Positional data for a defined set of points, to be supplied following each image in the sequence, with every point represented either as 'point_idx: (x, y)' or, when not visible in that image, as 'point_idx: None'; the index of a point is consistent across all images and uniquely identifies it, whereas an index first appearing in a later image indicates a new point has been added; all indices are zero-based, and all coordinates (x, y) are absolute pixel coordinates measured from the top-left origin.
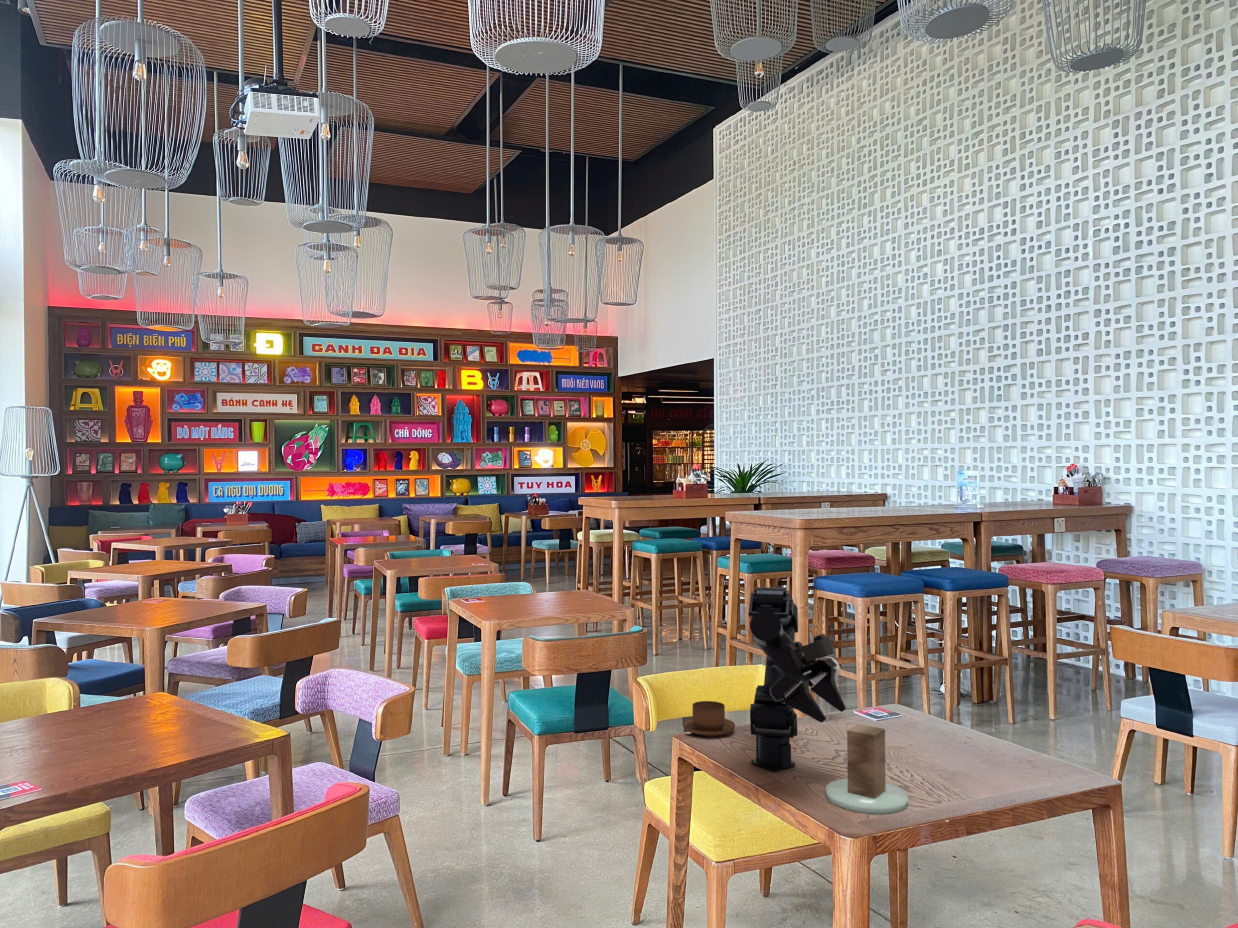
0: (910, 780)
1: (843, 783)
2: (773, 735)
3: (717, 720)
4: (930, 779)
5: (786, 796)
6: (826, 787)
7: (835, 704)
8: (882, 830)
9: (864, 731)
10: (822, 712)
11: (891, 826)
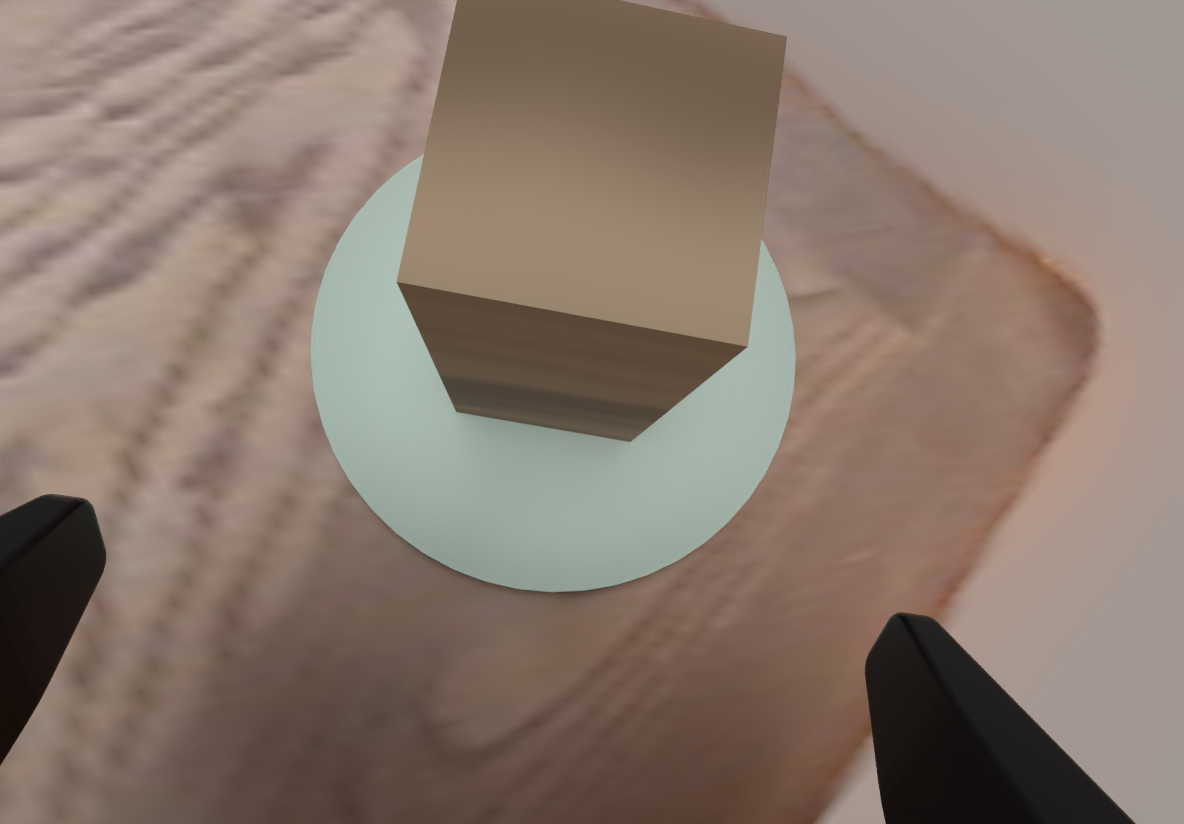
0: (105, 173)
1: (481, 504)
2: None
3: None
4: (30, 69)
5: (766, 794)
6: (611, 583)
7: (6, 696)
8: (944, 205)
9: (690, 157)
10: (946, 689)
11: (874, 175)
